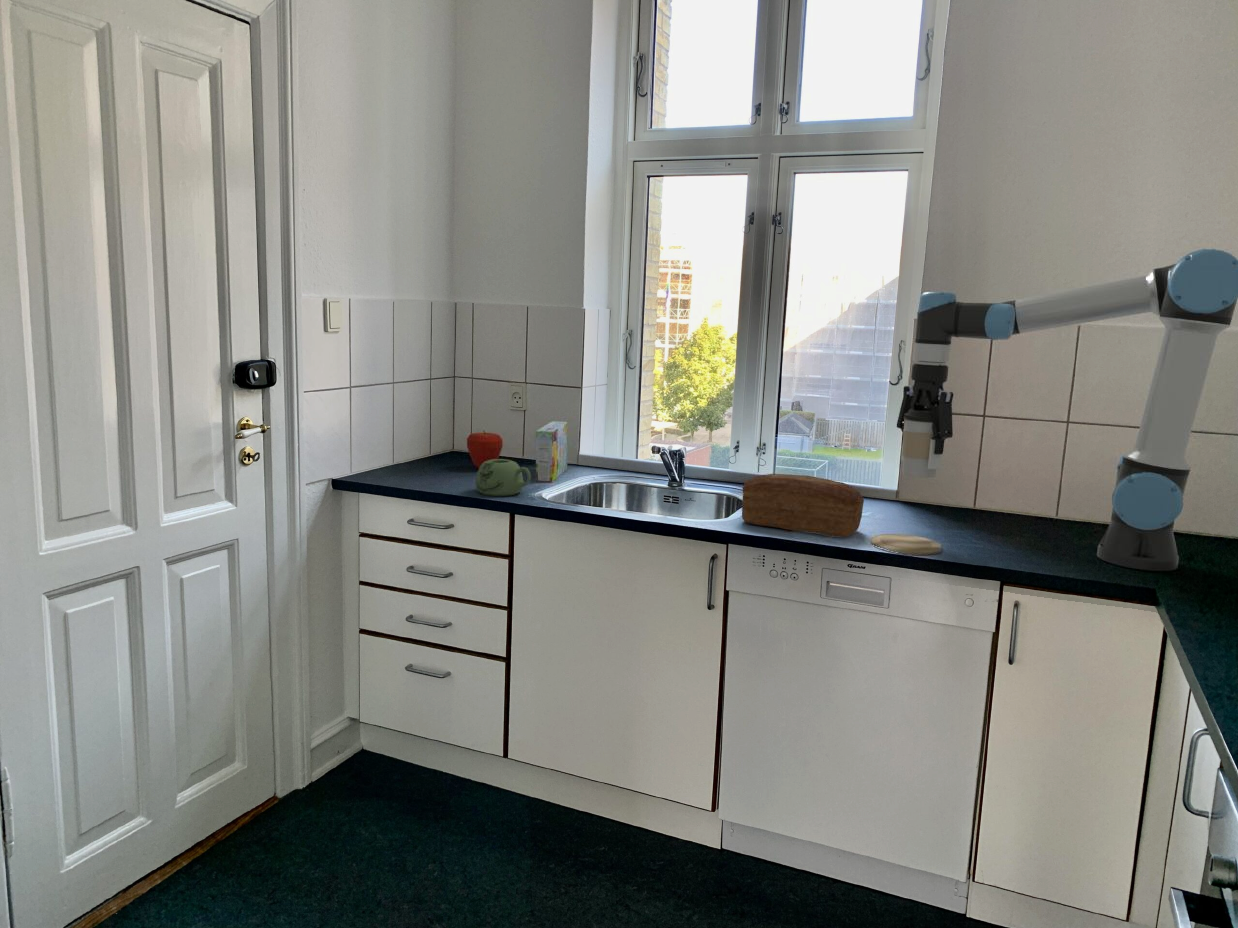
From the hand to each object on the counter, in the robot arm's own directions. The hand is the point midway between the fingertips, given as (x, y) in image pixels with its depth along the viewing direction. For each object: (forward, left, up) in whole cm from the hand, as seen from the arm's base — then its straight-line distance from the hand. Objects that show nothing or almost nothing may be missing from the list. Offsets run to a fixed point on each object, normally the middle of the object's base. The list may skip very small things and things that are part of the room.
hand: (920, 464), depth 198 cm
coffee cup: (0, 0, -3) cm, 3 cm away
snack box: (+92, +57, -18) cm, 109 cm away
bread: (+18, +19, -18) cm, 31 cm away
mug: (+71, +77, -18) cm, 106 cm away
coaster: (-3, +5, -18) cm, 19 cm away
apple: (+106, +74, -18) cm, 130 cm away
